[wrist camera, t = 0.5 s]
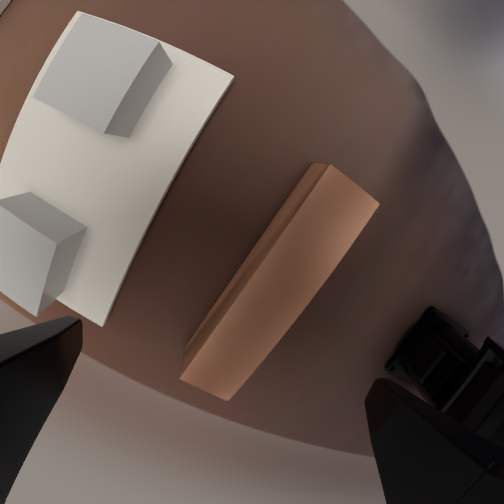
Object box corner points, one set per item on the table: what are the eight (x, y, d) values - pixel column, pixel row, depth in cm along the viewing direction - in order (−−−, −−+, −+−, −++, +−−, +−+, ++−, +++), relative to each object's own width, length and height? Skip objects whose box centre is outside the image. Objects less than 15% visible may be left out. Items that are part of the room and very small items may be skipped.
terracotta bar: (353, 194, 20) (379, 203, 16) (227, 365, 23) (227, 401, 19) (310, 162, 19) (330, 164, 15) (185, 344, 22) (179, 378, 18)
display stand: (233, 80, 17) (235, 55, 12) (106, 320, 21) (81, 359, 16) (83, 15, 15) (51, -13, 10) (-14, 240, 19) (-54, 260, 14)
